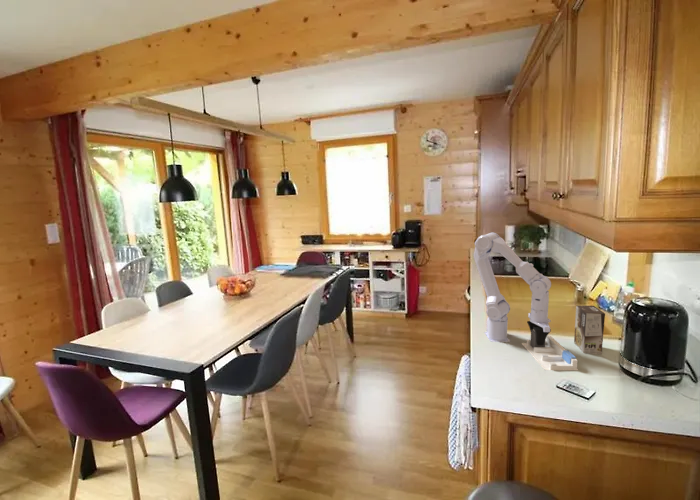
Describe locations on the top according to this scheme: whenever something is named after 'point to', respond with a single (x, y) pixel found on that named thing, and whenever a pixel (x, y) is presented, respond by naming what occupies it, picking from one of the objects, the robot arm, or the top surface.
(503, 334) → the robot arm
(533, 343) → the plug
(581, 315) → the coffee box
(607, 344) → the top surface
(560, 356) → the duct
